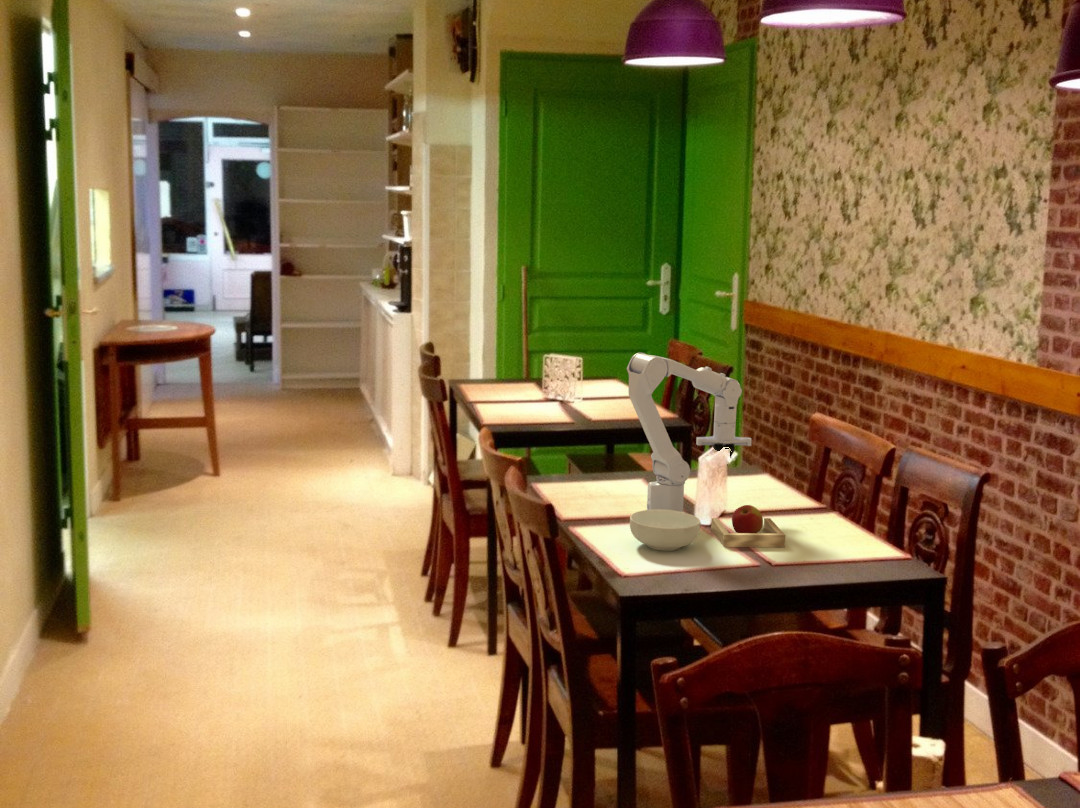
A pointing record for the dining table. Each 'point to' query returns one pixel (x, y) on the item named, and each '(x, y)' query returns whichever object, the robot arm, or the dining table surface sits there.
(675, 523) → the cereal bowl
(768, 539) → the shallow wooden tray
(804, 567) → the dining table surface
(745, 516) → the apple
